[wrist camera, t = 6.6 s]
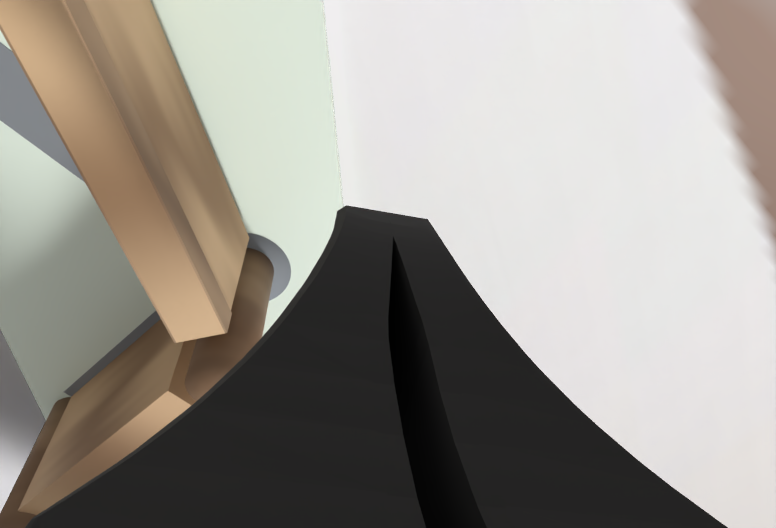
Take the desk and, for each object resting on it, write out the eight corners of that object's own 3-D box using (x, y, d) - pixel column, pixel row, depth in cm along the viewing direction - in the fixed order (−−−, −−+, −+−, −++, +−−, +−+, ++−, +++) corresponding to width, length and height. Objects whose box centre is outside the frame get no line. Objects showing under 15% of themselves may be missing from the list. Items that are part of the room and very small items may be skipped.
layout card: (363, 408, 24) (363, 414, 24) (53, 423, 24) (50, 430, 24) (315, -72, 15) (315, -70, 15) (-176, -44, 15) (-185, -42, 15)
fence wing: (251, 237, 19) (227, 333, 16) (206, 246, 19) (174, 343, 16) (123, -69, 15) (54, -22, 11) (66, -54, 15) (-18, -4, 12)
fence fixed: (286, 264, 21) (266, 386, 17) (87, 428, 25) (31, 559, 21) (245, 231, 20) (213, 351, 16) (46, 406, 24) (-20, 537, 20)
